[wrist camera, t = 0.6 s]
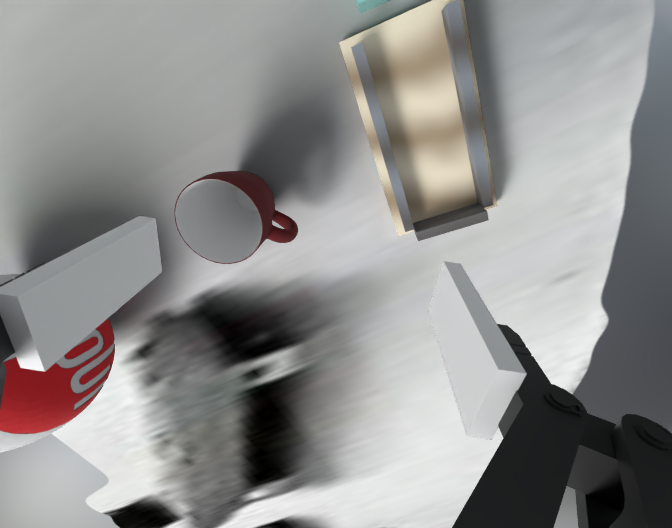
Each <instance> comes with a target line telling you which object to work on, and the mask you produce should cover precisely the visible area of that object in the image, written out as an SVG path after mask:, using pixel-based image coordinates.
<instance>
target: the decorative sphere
mask: <svg viewBox="0 0 672 528" xmlns="http://www.w3.org/2000/svg"><path fill="white" fill-rule="evenodd" d="M19 275H21V274H10V275H0V285H1V284H3V283H5V282H7V281H9V280H11V279H15V277H17V276H19ZM114 340H115V339H114V333H113V329H112V326H111V323H110V321H109V319H108V318H107V319H106V320H105V321H104V322H103V323H102V324H100V325H99V326H98V327H97V328H96V329H94V330H93V331H92V332H91V333H90V334H89V335H87V336H86V337H85V338H84V339H83V340H82V341H80V342H79V343H78V344H77V345H76V346H74V347H73V348H72V349H71V350H70V351H69V352H67V353H66V354H65V355H64V356H63V357H62V358H60V359H59V360H58V361H57V362H56V363H55V364H53V365H52V366H51V367H50V368H49V369H47V370H46V371H45V372H44V371H38V370H31V369H25V368H20V365H19V363H18V360H17V358H16V355H15V353H14V354H12V355H11V356H10V357H8V358H7V359H5V360H4V361H3V362H4V364H5V367H6V370H7V372H6V378H5V384H4V390H3V396H2V403H1V409H0V452H3V451H8V450H11V449H15V448H18V447H21V446H24V445H27V444H29V443H32V442H34V441H37V440H39V439H41V438H43V437H45V436H47V435H49V434H51V433H52V432H54V431H56V430H58V429H59V428H61V427H62V426H64V425H65V424H67V423H68V422H69V421H71V420H72V419H73V418H75V417H76V416H77V415H78V414H80V413H81V412H82V411H83V410H84V409H85V408H86V407H87V406H88V405H89V404H90V403H91V402H92V401H93V399H94V398H95V397H96V396H97V394H98V393H99V392H100V390H101V389H102V387H103V384H104V382H105V381H106V380H107V378H108V375H109V373H110V370H111V367H112V364H113V360H114V353H115V344H114Z"/></svg>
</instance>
